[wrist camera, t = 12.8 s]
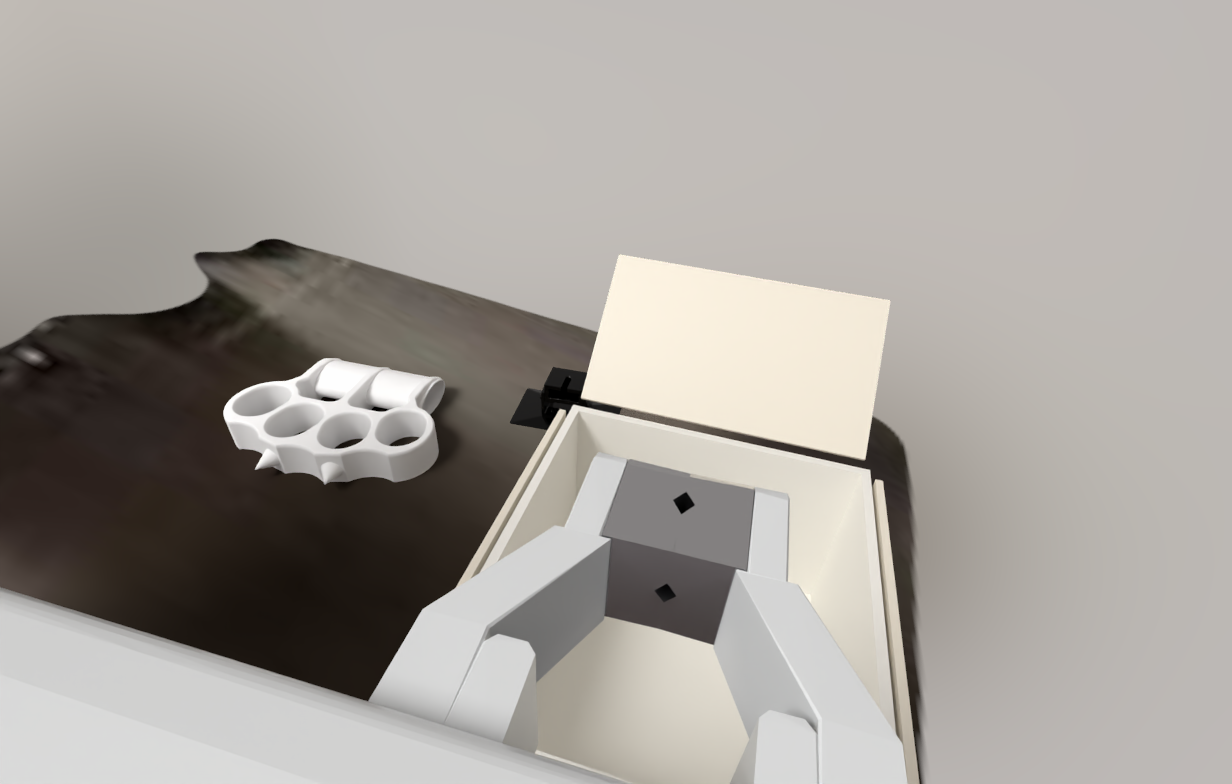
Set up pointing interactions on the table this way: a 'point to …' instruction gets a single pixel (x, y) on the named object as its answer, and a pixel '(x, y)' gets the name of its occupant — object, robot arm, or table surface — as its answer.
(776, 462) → the carton
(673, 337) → the carton flap
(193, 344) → the table surface
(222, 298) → the table surface
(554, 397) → the black angular piece
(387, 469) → the spiked knuckle duster
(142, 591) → the table surface
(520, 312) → the table surface
